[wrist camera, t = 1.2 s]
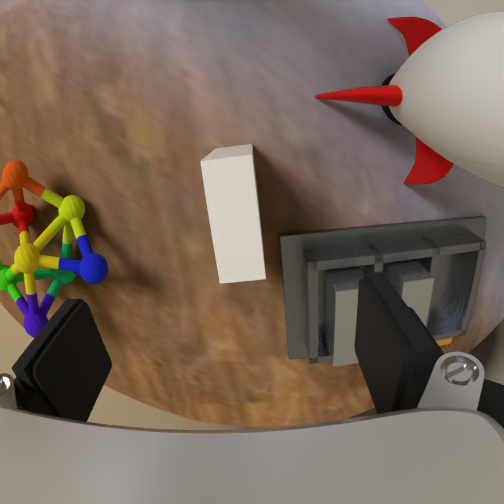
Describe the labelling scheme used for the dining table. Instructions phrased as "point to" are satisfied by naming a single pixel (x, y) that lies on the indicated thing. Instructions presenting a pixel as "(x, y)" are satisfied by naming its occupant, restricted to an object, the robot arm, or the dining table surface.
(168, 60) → the dining table surface
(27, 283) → the decorative model
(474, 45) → the rocket
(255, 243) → the block
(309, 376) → the dining table surface
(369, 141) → the dining table surface
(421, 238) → the rack
